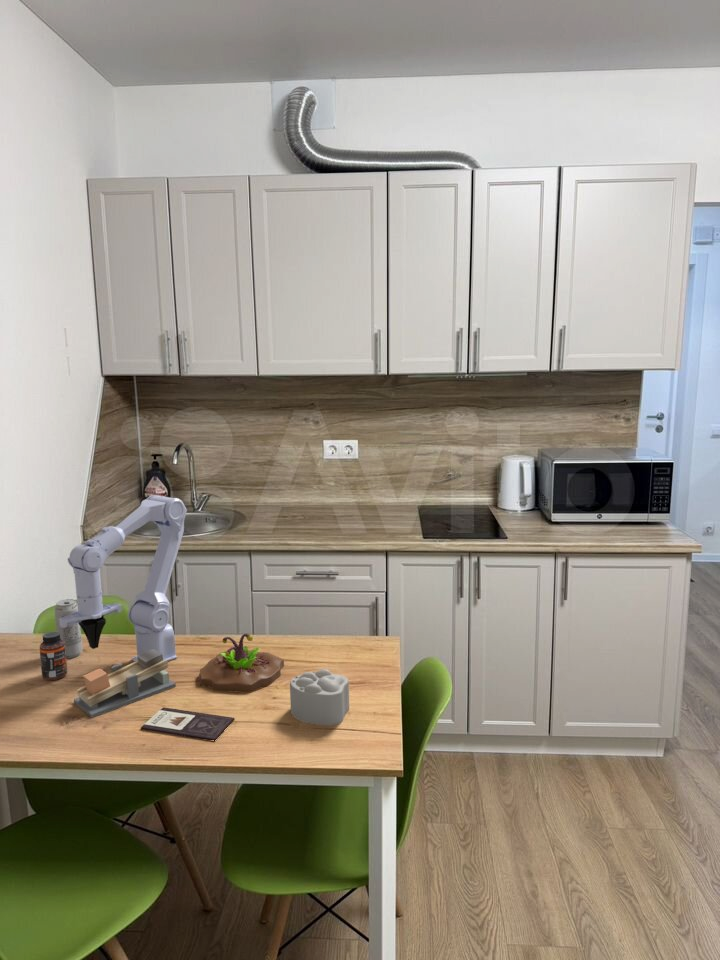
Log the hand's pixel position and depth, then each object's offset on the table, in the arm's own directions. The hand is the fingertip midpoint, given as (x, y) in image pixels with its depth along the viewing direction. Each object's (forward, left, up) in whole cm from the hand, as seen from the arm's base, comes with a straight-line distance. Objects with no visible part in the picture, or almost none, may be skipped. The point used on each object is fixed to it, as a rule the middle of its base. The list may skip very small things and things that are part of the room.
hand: (93, 646), depth 173 cm
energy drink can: (-2, -22, -10) cm, 25 cm away
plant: (-29, +21, -10) cm, 37 cm away
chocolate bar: (-6, +33, -11) cm, 35 cm away
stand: (-3, +10, -10) cm, 14 cm away
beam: (-3, +10, -8) cm, 13 cm away
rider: (+4, +10, -6) cm, 12 cm away
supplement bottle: (+6, -12, -10) cm, 17 cm away
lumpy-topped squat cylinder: (-30, +49, -10) cm, 58 cm away
